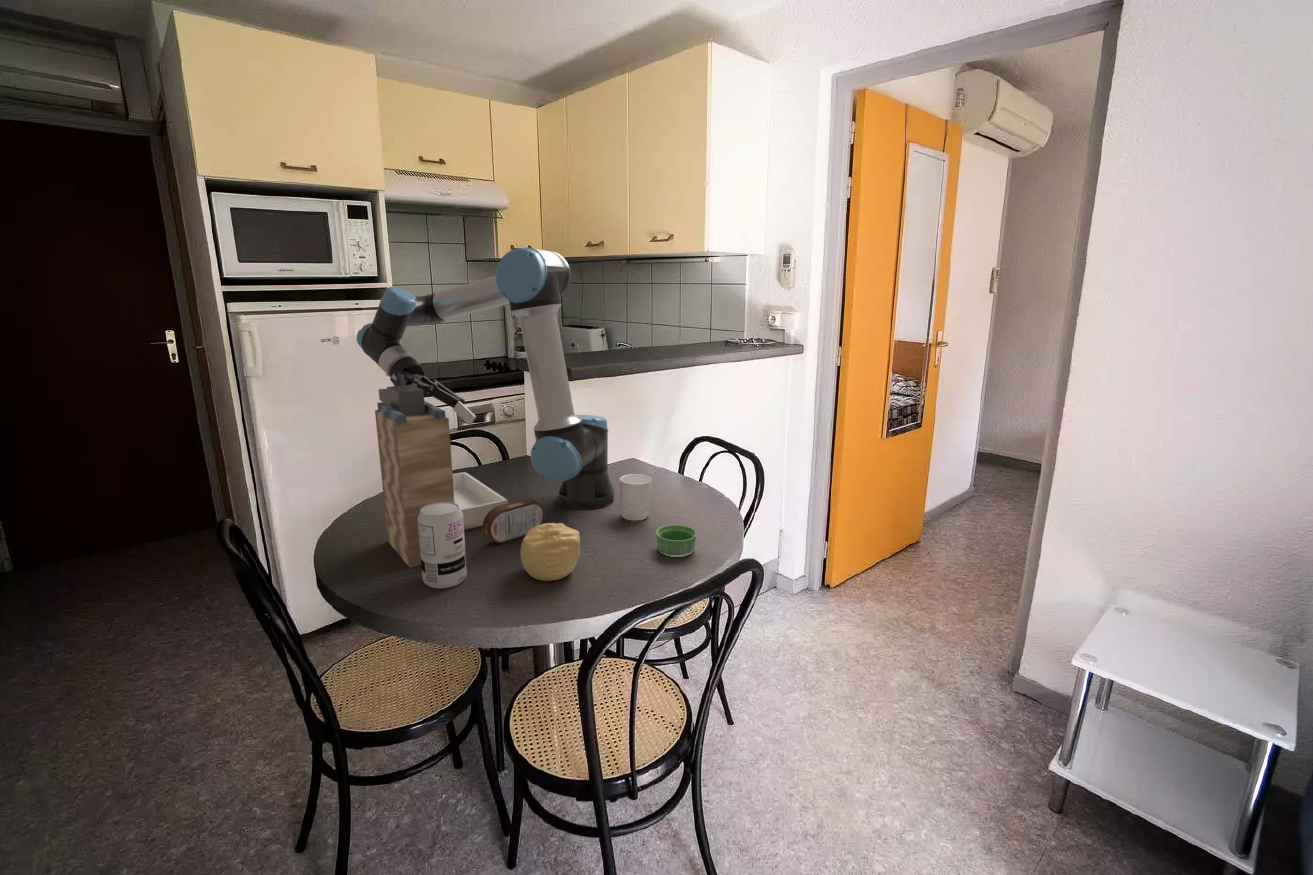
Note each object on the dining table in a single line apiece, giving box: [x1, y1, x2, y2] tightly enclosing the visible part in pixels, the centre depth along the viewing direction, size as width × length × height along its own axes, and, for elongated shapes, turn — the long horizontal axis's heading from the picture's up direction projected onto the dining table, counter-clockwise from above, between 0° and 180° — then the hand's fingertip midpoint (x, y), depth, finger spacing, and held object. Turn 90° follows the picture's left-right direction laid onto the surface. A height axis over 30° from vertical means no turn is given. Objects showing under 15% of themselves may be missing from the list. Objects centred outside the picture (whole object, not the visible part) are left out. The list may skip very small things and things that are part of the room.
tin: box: [482, 498, 545, 544], centre depth 140 cm, size 15×3×8 cm, turn 135°
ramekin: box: [655, 524, 698, 555], centre depth 135 cm, size 9×9×4 cm
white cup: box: [619, 473, 652, 521], centre depth 153 cm, size 8×8×10 cm
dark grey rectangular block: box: [378, 385, 425, 416], centre depth 133 cm, size 20×5×5 cm, turn 38°
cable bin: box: [452, 471, 509, 531], centre depth 157 cm, size 28×14×5 cm, turn 38°
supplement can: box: [417, 502, 468, 589], centre depth 119 cm, size 8×8×15 cm
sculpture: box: [520, 522, 581, 582], centre depth 123 cm, size 12×12×11 cm
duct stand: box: [374, 400, 454, 569], centre depth 131 cm, size 16×10×32 cm, turn 38°
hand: (453, 418), depth 146 cm, fingers open, 13 cm apart
